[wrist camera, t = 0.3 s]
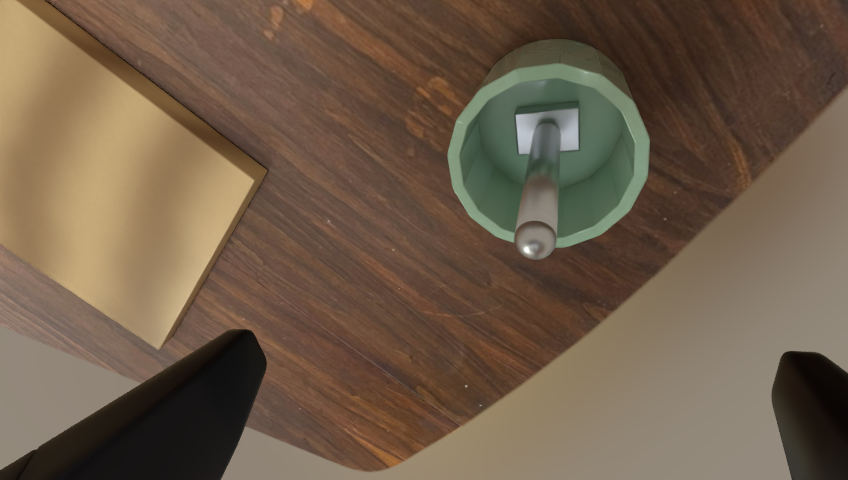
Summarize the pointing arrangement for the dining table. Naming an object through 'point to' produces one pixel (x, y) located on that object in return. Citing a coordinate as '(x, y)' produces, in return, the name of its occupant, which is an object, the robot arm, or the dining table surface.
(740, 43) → the dining table surface
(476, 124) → the cup
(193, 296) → the board
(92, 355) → the dining table surface
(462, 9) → the dining table surface
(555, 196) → the metal joystick
